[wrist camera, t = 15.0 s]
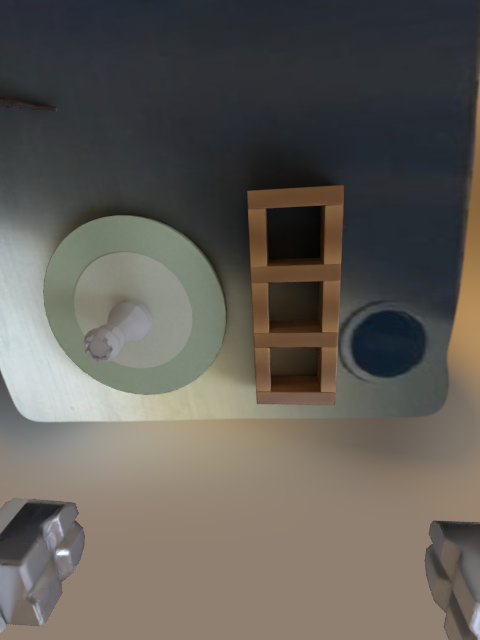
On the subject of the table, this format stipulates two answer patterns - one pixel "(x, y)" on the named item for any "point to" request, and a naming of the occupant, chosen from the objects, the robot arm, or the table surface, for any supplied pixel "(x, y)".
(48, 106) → the dinosaur model
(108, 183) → the table surface
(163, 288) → the plate
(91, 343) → the rook chess piece
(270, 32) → the table surface
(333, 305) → the rack
